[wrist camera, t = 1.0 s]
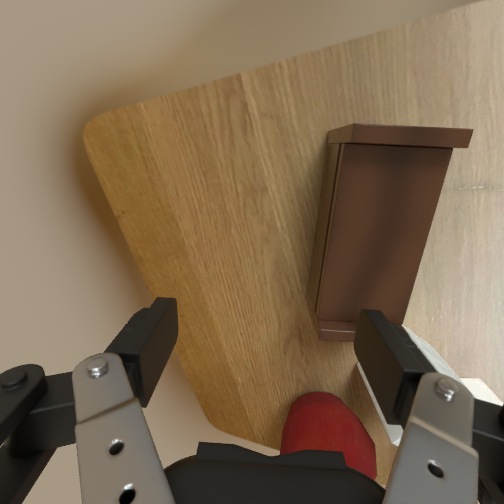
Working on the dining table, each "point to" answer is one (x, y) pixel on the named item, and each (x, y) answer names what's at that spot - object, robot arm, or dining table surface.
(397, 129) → the storage chest
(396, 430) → the small box
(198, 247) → the dining table surface
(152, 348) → the robot arm
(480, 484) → the jar
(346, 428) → the apple
